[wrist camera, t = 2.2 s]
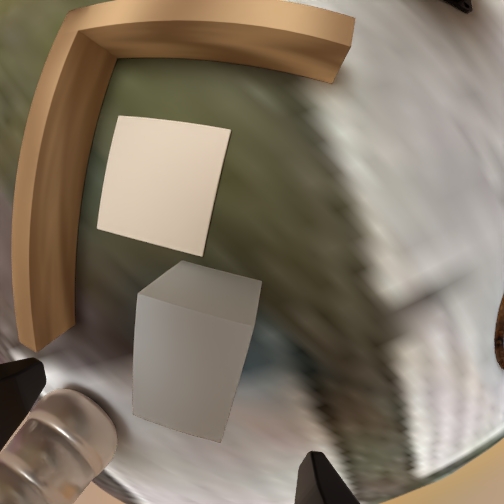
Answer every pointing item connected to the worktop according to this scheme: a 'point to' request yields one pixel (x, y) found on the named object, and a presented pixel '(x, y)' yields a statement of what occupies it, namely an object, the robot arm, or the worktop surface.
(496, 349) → the burger
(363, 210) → the worktop surface
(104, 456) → the plastic bottle
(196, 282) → the block
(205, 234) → the pad
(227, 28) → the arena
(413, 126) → the worktop surface
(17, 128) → the worktop surface
